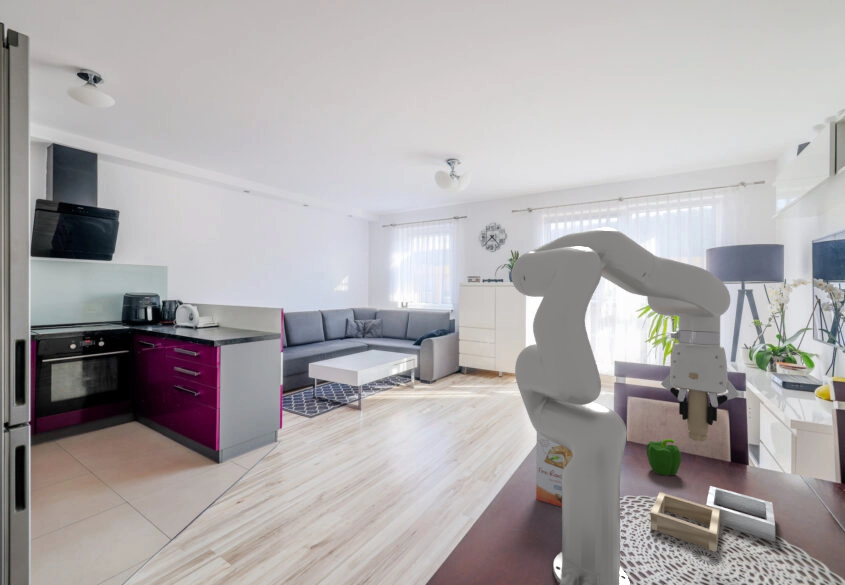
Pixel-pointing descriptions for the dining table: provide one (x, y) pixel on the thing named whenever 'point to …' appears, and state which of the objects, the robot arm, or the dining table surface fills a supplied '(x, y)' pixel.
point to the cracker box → (550, 470)
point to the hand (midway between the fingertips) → (697, 420)
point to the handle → (697, 413)
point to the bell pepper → (664, 457)
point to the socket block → (740, 519)
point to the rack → (683, 528)
